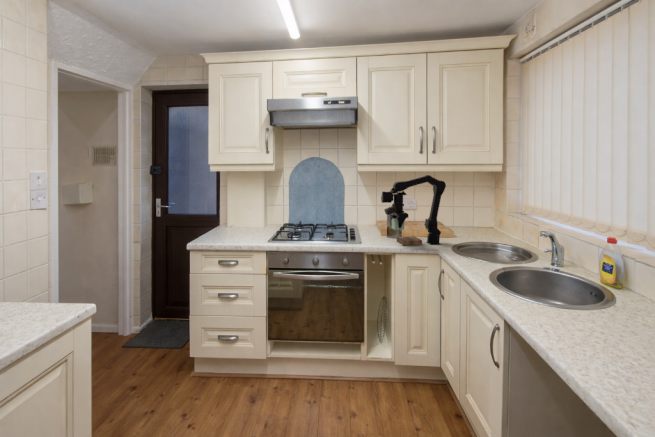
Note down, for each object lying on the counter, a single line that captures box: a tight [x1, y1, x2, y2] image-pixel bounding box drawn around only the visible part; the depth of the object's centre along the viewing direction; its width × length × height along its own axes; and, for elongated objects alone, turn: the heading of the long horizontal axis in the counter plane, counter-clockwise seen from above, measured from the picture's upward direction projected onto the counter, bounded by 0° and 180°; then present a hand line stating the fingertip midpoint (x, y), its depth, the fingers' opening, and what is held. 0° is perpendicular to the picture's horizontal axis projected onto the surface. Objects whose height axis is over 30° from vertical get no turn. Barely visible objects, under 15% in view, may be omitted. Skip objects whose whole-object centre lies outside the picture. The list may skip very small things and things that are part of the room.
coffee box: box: [386, 214, 403, 239], centre depth 242 cm, size 9×6×16 cm
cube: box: [392, 219, 405, 231], centre depth 222 cm, size 6×6×6 cm
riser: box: [396, 235, 423, 247], centre depth 225 cm, size 12×12×3 cm
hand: (398, 227), depth 222 cm, fingers closed on cube, 6 cm apart
